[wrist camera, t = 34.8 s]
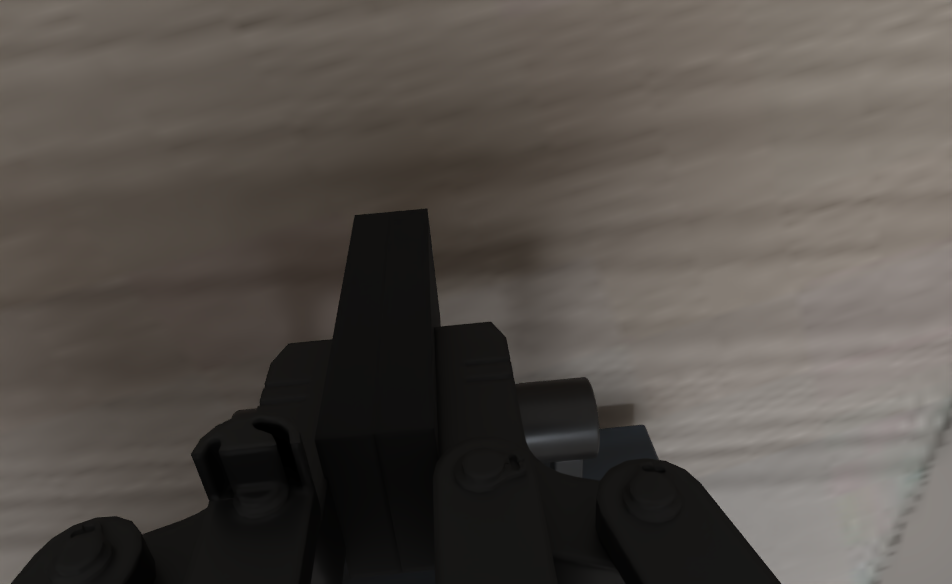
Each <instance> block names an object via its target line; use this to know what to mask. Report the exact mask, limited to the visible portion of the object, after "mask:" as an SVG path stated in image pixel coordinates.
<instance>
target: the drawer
mask: <svg viewBox="0 0 952 584" xmlns="http://www.w3.org/2000/svg"><path fill="white" fill-rule="evenodd" d="M515 387H516V392H517V397H518V402H519V408H520V413H521V418H522V423H523V429H524V434H525V439H526V442H527V444H528V447H529V449H530V450H531V452H532V453H533V454H534V456H535V457H536V458H537V459H538V460H539V461H541V462H542V463H543V464H545V465H546V466H547V467H549V468H551V469H553V470H556V471H558V472H560V473H563V474H567V475H571V476H575V477H581V478H587V479H593V480H599V481H600V480H601V479H602V477H603V476H604V475H605V474H606V472H607V471H608V470H609V469H610V468H612V467H614V466H616V465H618V464H620V463H622V462H624V461H627V460H634V459H642V458H649V459H655V460H659V459H658V457H657V454H656V452H655V449H654V447H653V444H652V442H651V439H650V437H649V434H648V432H647V430H646V427H645V426H644V425H635V426H625V427H614V428H604V429H599V421H598V413H597V406H596V401H595V397H594V393H593V389H592V386H591V384H590V382H589V380H588V379H587V378H585V377H581V378H571V379H560V380H550V381H539V382H529V383H518V384H515ZM256 411H257V408H256V409H246V410H239V411H237V412H235V413H234V414H233V416H232V418H234V417H237V416H241V415H246V414H250V413H254V412H256ZM232 418H231V419H232ZM343 584H435V570H427V571H417V572H408V573H399V574H389V575H380V576H371V577H361V578H352V579H350V575H349V571H348V567H347V563H346V560H345V565H344V575H343Z"/></svg>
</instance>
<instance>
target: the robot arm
mask: <svg viewBox="0 0 952 584" xmlns="http://www.w3.org/2000/svg"><path fill="white" fill-rule="evenodd" d="M259 402H260V406H258V408H257V411H256V412H254V413H250V414H246V415H241V416H237V417H234V418H232V419H230V420H228V421H226V422H224V423H222V424H220V425H218V426H216V427H215V428H213V429H212V430H211V431H210V432H209V433H207V434H206V435H205V436H204V437H202V438H201V439H200V441H199V442H198V444H197V445H196V447H195V449H194V450H193V452H192V453H191V456H192V458H193V461H194V463H195V466H196V468H197V471H198V473H199V476H200V479H201V481H202V484H203V486H204V489H205V491H206V494H207V496H208V499H209V504H208V507H207V508H206V509H204V510H202V511H201V512H199V513H197V514H195V515H193V516H191V517H188V518H186V519H184V520H182V521H179V522H176V523H173V524H170V525H168V526H165V527H162V528H159V529H156V530H154V531H151V532H148V533H145V534H141V532H140V531H139V529H138V528H137V527H136V526H135V524H134V523H133V522H132V521H130V520H126V519H123V518H120V517H117V516H113V517H99V518H94V519H91V520H88V521H85V522H82V523H79V524H76V525H73V526H72V527H70V528H69V529H67V530H65V531H64V532H62V533H60V534H59V535H57V536H55V537H54V538H52V539H51V540H50V541H49V542H48V543H47V544H46V545H45V546H44V547H43V548H41V549H40V550H39V551H38V552H37V553H36V554H35V555H34V556H33V557H32V559H31V560H30V561H29V562H28V564H27V565H26V566H25V567H24V568H23V570H22V571H21V572H20V573H19V574H18V576H17V577H16V578H15V579H14V581H13V582H12V583H11V584H343V575H344V565H345V560H346V563H347V567H348V571H349V575H350V579H352V578H361V577H371V576H380V575H389V574H399V573H408V572H417V571H427V570H435V584H781V583H780V581H779V580H778V579H777V578H776V576H775V575H774V574H773V573H772V571H771V570H770V569H769V568H768V566H767V565H766V564H765V563H764V562H763V560H762V559H761V558H760V557H759V555H758V554H757V553H756V552H755V550H754V549H753V548H752V547H751V545H750V544H749V543H748V542H747V540H746V539H745V538H744V537H743V535H742V534H741V533H740V532H739V530H738V529H737V528H736V527H735V525H734V524H733V523H732V522H731V520H730V519H729V518H728V517H727V516H726V514H725V513H724V512H723V511H722V509H721V508H720V507H719V506H718V504H717V503H716V502H715V501H714V499H713V498H712V497H711V496H710V494H709V493H708V492H707V491H706V489H705V488H704V487H703V486H702V484H701V483H700V482H699V481H698V480H696V479H695V478H694V477H693V476H692V475H691V474H690V473H688V472H687V471H686V470H685V469H683V468H680V467H678V466H676V465H674V464H671V463H669V462H667V461H662V460H655V459H649V458H642V459H634V460H627V461H624V462H622V463H620V464H618V465H616V466H614V467H612V468H610V469H609V470H608V471H607V472H606V474H605V475H604V476H603V477H602V479H601V480H600V481H599V480H593V479H587V478H581V477H575V476H571V475H567V474H563V473H560V472H558V471H556V470H553V469H551V468H549V467H547V466H546V465H545V464H543V463H542V462H541V461H539V460H538V459H537V458H536V457H535V456H534V454H533V453H532V452H531V450H530V449H529V447H528V444H527V442H526V439H525V434H524V429H523V423H522V418H521V413H520V408H519V402H518V397H517V392H516V387H515V381H514V378H513V371H512V366H511V362H510V355H509V350H508V344H507V339H506V337H505V336H504V335H503V334H502V333H501V332H500V331H499V330H498V329H497V327H496V326H495V325H494V324H493V323H492V322H483V323H473V324H463V325H453V326H442V327H441V324H440V312H439V304H438V295H437V286H436V278H435V269H434V261H433V252H432V243H431V235H430V226H429V218H428V209H417V210H406V211H396V212H385V213H374V214H364V215H355V217H354V223H353V228H352V234H351V239H350V245H349V251H348V256H347V262H346V267H345V273H344V278H343V284H342V289H341V295H340V301H339V306H338V312H337V317H336V323H335V328H334V334H333V339H331V340H321V341H311V342H300V343H290V344H288V345H287V346H286V347H285V348H284V349H283V350H282V351H281V352H280V353H279V355H278V356H277V357H276V358H275V359H274V360H273V361H272V362H271V364H270V367H269V371H268V374H267V378H266V381H265V388H263V391H262V394H261V398H260V401H259Z"/></svg>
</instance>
